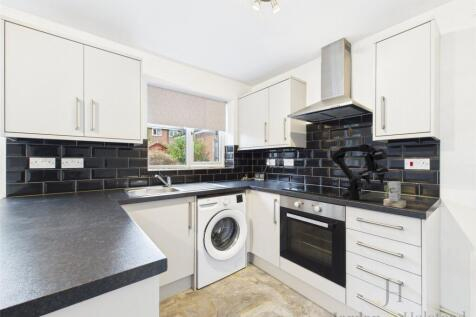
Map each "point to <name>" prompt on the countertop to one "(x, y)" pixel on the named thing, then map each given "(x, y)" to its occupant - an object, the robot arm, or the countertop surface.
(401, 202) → the birch block
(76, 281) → the countertop surface
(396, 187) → the ink box
